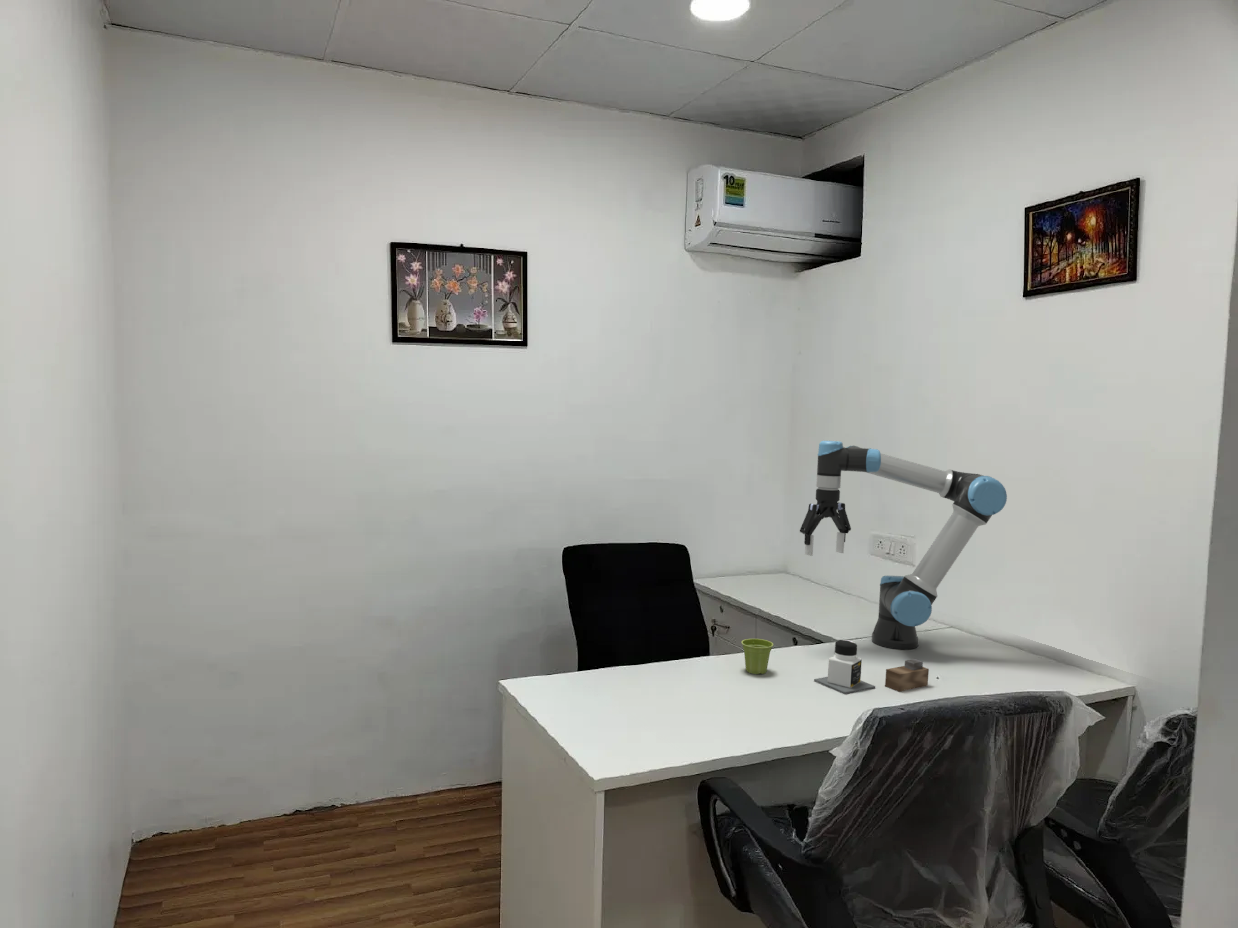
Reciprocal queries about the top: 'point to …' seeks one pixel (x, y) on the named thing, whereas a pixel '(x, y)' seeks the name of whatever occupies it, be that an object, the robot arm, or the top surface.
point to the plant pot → (756, 655)
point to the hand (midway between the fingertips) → (824, 553)
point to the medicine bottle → (845, 665)
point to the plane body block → (907, 676)
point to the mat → (845, 690)
